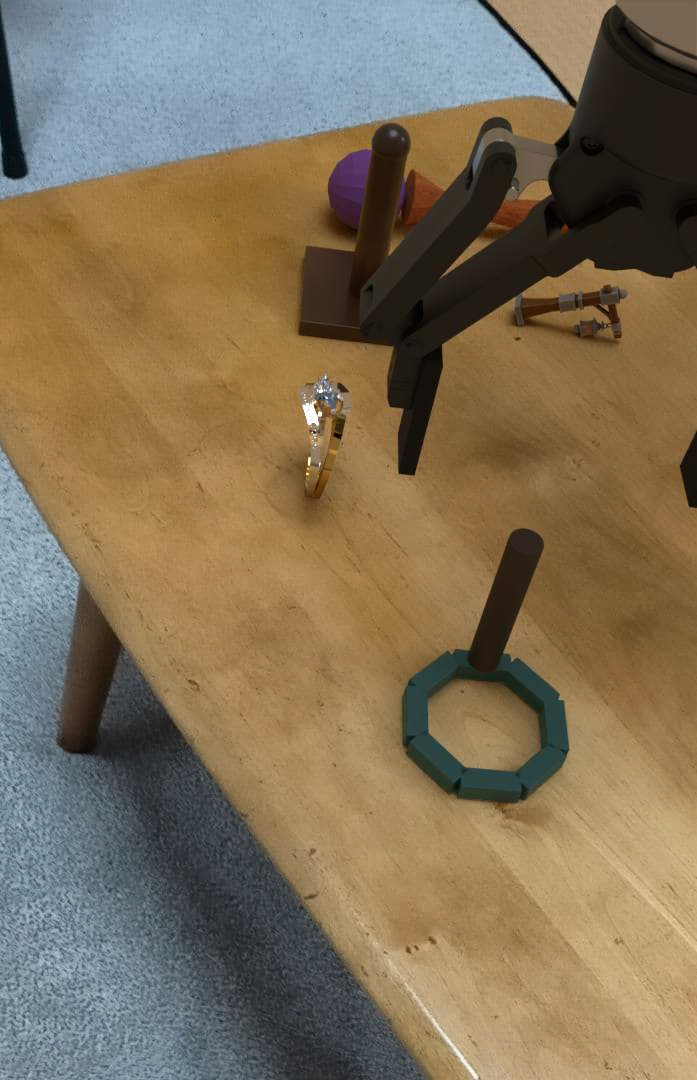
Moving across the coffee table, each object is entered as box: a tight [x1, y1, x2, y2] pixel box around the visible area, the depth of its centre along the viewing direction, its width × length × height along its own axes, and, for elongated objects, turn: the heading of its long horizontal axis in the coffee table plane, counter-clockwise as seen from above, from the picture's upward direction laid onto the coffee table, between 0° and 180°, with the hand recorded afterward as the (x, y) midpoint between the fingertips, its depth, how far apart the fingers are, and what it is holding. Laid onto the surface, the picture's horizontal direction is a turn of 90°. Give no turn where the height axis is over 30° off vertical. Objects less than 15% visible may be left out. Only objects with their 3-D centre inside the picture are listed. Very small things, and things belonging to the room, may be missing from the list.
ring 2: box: [401, 528, 570, 804], centre depth 63 cm, size 9×9×11 cm
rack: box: [298, 122, 412, 346], centre depth 85 cm, size 9×9×14 cm
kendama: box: [327, 148, 568, 235], centre depth 96 cm, size 6×6×20 cm
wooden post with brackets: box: [513, 284, 629, 340], centre depth 91 cm, size 2×8×4 cm, turn 79°
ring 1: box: [298, 371, 354, 500], centre depth 75 cm, size 7×3×8 cm, turn 176°
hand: (550, 471), depth 58 cm, fingers open, 13 cm apart
